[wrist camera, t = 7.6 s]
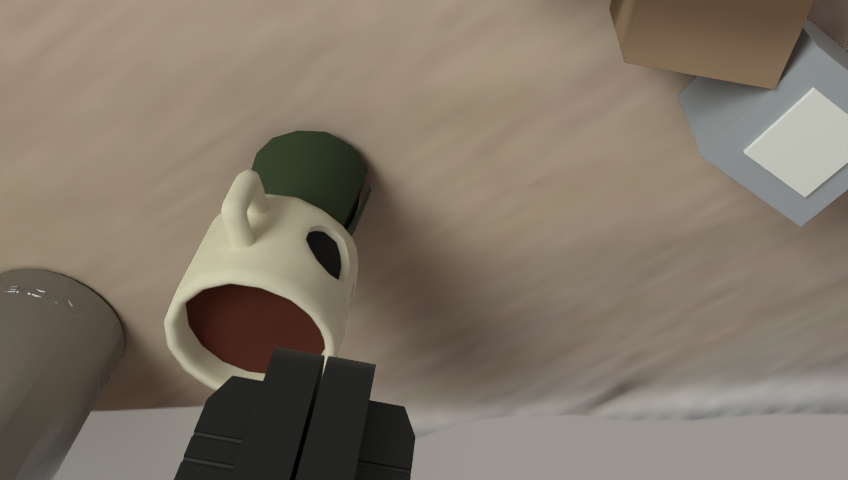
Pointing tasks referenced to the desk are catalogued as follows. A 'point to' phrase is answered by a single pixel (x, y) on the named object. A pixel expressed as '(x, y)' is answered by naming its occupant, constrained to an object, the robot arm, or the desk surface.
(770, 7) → the walnut block
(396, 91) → the desk surface
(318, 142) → the character mug
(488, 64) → the desk surface
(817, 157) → the grey block
